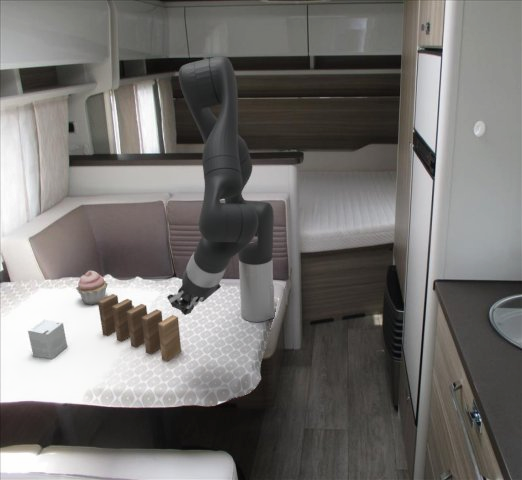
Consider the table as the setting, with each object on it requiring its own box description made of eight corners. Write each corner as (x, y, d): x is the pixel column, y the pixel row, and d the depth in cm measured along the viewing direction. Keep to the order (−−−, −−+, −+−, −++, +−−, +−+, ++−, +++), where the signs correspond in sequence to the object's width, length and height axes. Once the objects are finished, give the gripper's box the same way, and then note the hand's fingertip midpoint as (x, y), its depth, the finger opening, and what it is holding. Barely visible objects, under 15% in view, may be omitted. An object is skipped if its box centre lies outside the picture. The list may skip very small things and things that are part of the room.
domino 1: (121, 328, 141) (117, 295, 137) (107, 336, 137) (102, 302, 134) (117, 326, 142) (112, 293, 138) (102, 334, 138) (97, 301, 134)
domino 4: (165, 345, 132) (161, 311, 128) (150, 354, 128) (146, 319, 125) (160, 343, 133) (156, 309, 129) (145, 352, 129) (141, 317, 126)
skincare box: (48, 343, 134) (43, 318, 132) (68, 347, 133) (63, 321, 130) (32, 356, 129) (27, 330, 126) (52, 359, 127) (47, 333, 125)
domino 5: (181, 351, 129) (177, 316, 125) (167, 361, 125) (163, 325, 122) (176, 349, 130) (172, 314, 126) (161, 359, 126) (157, 323, 123)
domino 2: (135, 333, 138) (131, 300, 134) (121, 342, 134) (116, 308, 131) (131, 331, 139) (127, 298, 135) (116, 340, 135) (112, 306, 132)
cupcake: (72, 305, 154) (66, 275, 151) (88, 292, 163) (84, 263, 159) (99, 308, 152) (95, 277, 149) (115, 294, 160) (111, 265, 157)
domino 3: (150, 339, 135) (146, 305, 131) (135, 348, 131) (131, 313, 128) (145, 337, 136) (141, 303, 132) (131, 346, 132) (126, 311, 129)
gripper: (222, 247, 110) (201, 288, 123) (167, 266, 102) (151, 307, 115) (240, 275, 107) (217, 313, 120) (186, 296, 100) (167, 335, 113)
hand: (185, 310), depth 118 cm, fingers closed
